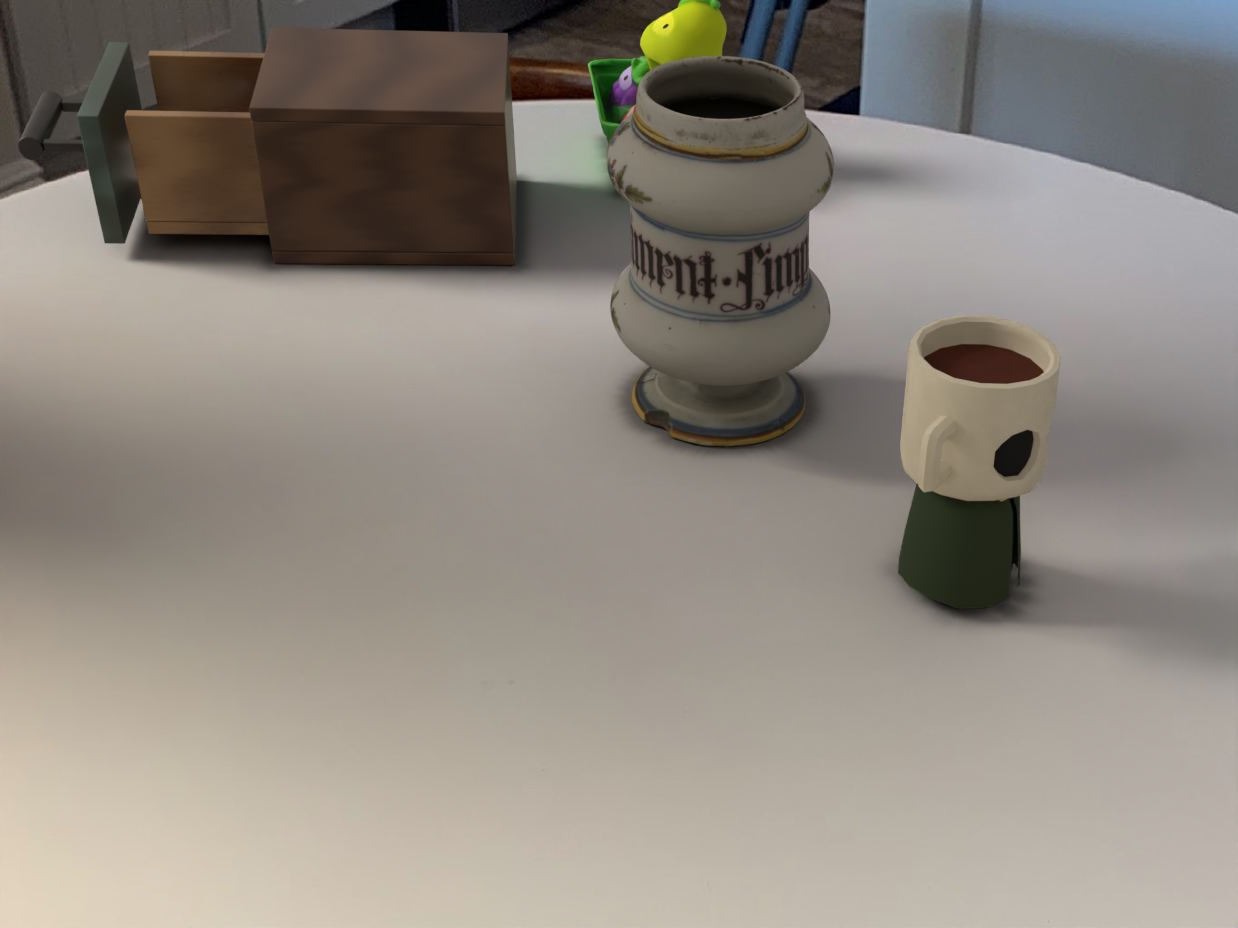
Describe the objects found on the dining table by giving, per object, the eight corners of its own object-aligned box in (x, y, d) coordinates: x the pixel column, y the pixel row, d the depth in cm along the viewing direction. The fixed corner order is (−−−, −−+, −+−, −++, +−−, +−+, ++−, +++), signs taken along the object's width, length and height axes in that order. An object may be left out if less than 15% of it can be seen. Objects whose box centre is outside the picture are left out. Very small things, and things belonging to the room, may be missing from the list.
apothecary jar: (567, 405, 107) (553, 82, 94) (704, 329, 114) (707, 21, 102) (735, 482, 102) (743, 154, 90) (866, 399, 110) (889, 84, 97)
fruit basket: (588, 131, 134) (582, -37, 126) (712, 129, 136) (715, -37, 128) (603, 201, 126) (598, 26, 118) (735, 199, 128) (739, 26, 120)
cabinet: (273, 263, 117) (248, 107, 110) (292, 176, 126) (271, 27, 119) (514, 265, 119) (504, 112, 112) (516, 179, 128) (507, 32, 121)
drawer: (29, 243, 115) (-2, 114, 109) (64, 163, 123) (36, 39, 117) (333, 246, 117) (316, 120, 112) (347, 167, 125) (332, 46, 120)
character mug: (972, 660, 92) (1004, 422, 83) (844, 611, 94) (862, 375, 85) (1064, 554, 99) (1102, 326, 90) (943, 512, 101) (969, 284, 93)
